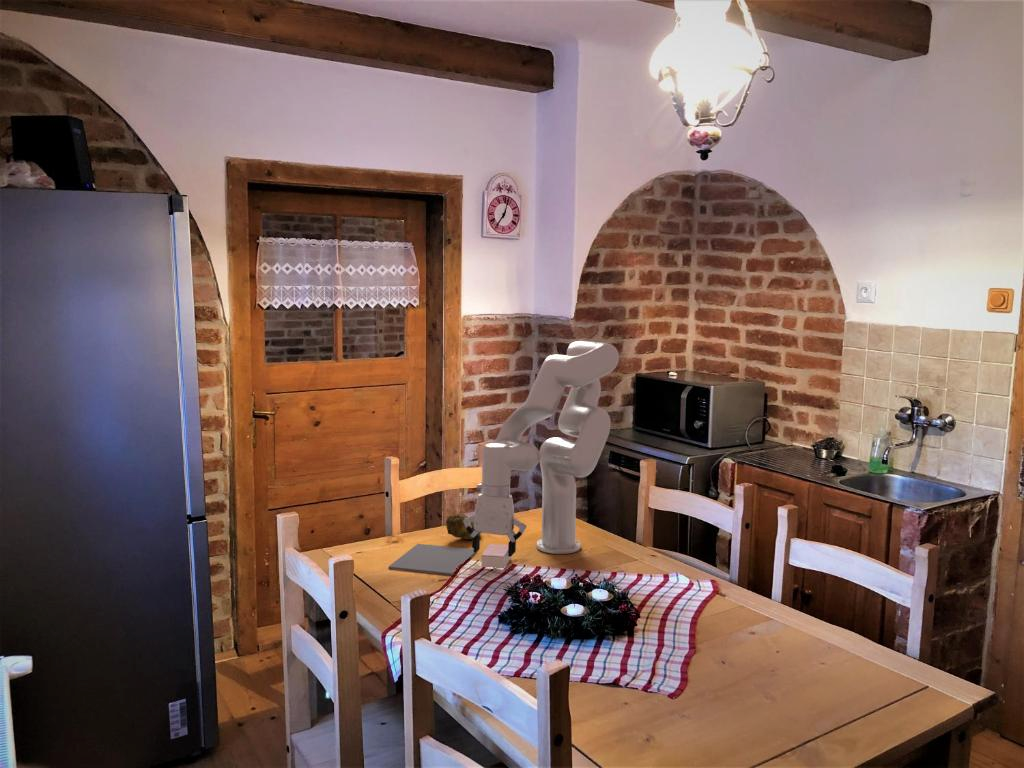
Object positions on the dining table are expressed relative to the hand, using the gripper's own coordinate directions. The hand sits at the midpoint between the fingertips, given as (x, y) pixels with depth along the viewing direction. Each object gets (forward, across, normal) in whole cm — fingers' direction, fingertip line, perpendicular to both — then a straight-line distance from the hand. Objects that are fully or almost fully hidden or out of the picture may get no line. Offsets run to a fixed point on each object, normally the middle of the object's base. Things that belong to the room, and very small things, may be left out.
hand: (493, 553), depth 220 cm
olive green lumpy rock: (+3, -14, +19) cm, 24 cm away
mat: (+4, -16, -1) cm, 17 cm away
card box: (+3, +1, +1) cm, 4 cm away
